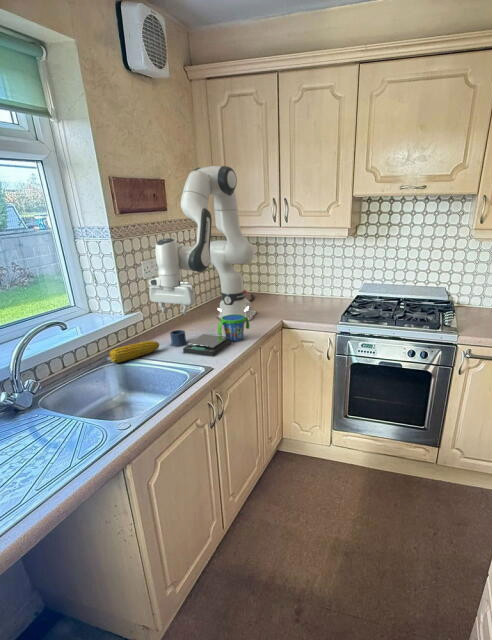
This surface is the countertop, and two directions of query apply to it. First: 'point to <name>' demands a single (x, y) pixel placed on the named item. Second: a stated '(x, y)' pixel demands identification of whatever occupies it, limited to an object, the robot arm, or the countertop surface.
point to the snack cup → (233, 326)
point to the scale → (207, 349)
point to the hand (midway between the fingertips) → (174, 313)
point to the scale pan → (207, 341)
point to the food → (133, 351)
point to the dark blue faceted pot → (178, 338)
